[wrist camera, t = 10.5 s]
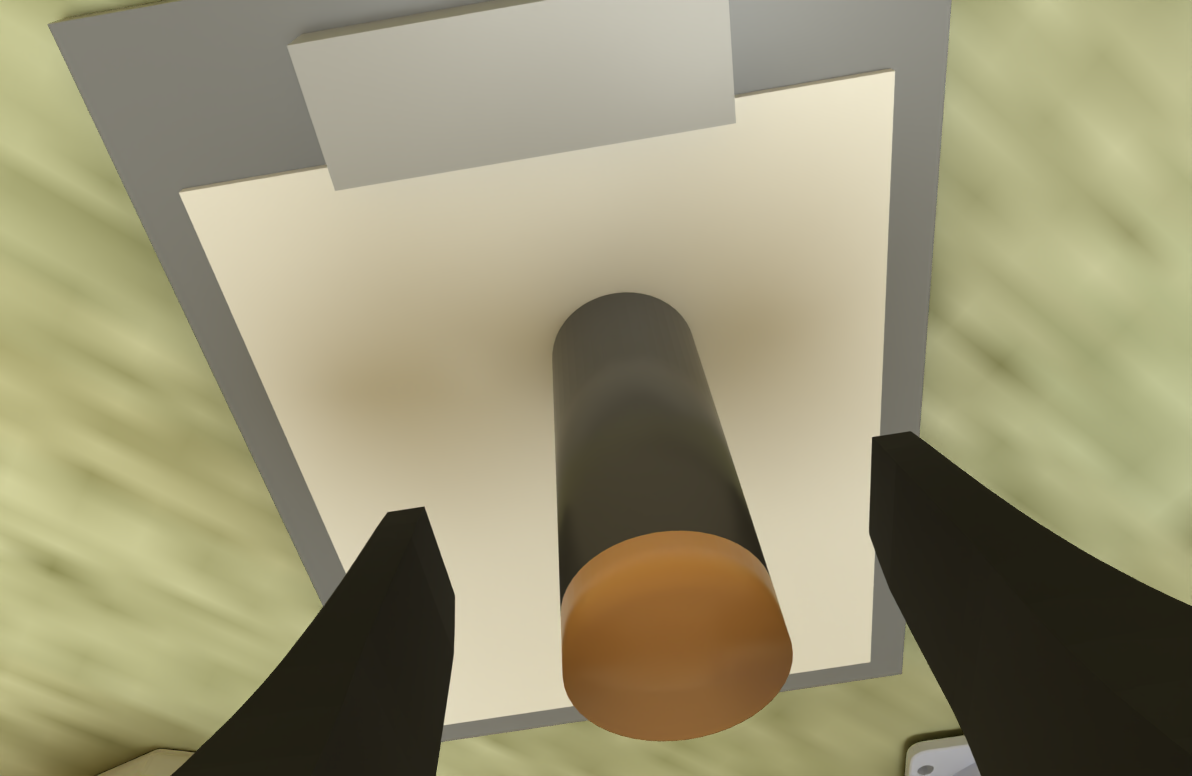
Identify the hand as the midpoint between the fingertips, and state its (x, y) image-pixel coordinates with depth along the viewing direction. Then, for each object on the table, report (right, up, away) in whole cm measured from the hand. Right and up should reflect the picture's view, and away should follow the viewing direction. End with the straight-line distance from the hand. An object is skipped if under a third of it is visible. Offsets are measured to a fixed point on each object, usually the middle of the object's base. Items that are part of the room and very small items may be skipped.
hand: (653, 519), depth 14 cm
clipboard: (-1, +1, +6) cm, 6 cm away
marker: (0, +3, +4) cm, 5 cm away
